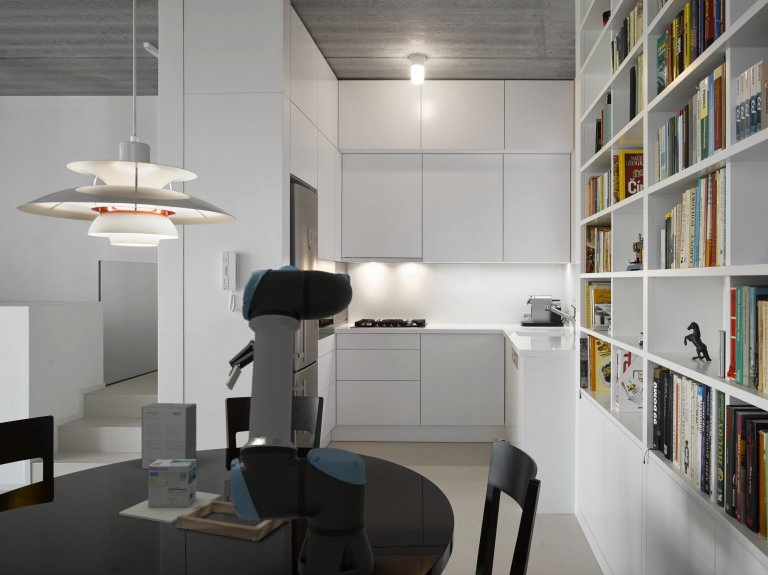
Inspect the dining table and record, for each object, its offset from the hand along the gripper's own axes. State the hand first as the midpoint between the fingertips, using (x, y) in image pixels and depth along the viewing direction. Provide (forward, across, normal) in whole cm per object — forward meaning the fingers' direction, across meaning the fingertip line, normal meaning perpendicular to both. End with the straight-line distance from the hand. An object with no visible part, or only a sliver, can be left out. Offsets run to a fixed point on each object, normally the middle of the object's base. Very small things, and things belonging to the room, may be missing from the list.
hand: (249, 388), depth 159 cm
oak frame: (+34, -7, -8) cm, 35 cm away
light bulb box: (+30, +15, -12) cm, 35 cm away
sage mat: (+30, +15, -12) cm, 36 cm away
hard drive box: (+10, +40, -32) cm, 52 cm away
